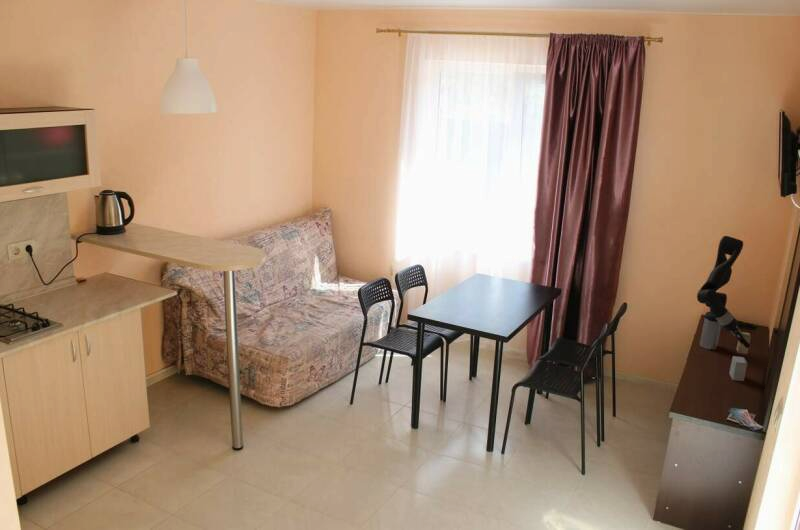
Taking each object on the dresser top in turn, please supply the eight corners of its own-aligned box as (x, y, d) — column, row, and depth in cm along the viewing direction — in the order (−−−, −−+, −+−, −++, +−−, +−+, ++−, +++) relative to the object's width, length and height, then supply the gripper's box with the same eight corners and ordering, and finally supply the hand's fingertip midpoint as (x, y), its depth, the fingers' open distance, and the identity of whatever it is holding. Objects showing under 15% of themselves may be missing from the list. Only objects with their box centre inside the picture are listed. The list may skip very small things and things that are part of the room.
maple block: (736, 349, 375) (740, 331, 372) (745, 350, 374) (749, 333, 371) (737, 352, 371) (741, 335, 368) (747, 354, 370) (751, 336, 367)
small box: (743, 381, 373) (747, 363, 370) (732, 380, 374) (736, 362, 371) (740, 375, 381) (743, 357, 378) (729, 373, 382) (732, 355, 379)
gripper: (735, 321, 362) (756, 346, 363) (730, 311, 375) (751, 336, 376) (722, 329, 365) (743, 354, 366) (718, 319, 378) (738, 343, 379)
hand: (747, 345), depth 371 cm, fingers closed on maple block, 4 cm apart
